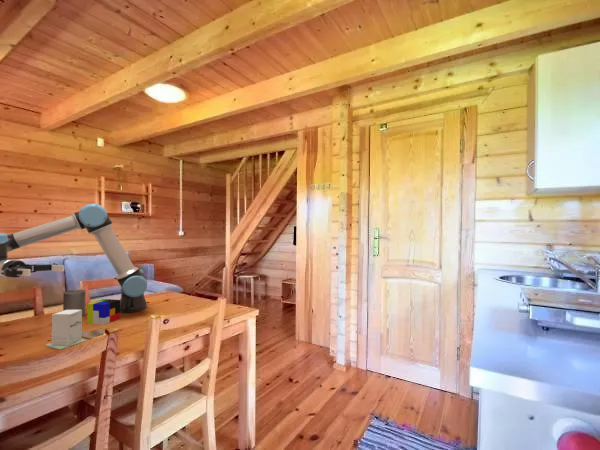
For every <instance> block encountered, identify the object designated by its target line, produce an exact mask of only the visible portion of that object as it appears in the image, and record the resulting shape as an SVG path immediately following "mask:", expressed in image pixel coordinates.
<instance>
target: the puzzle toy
mask: <svg viewBox="0 0 600 450" xmlns="http://www.w3.org/2000/svg"><path fill="white" fill-rule="evenodd" d="M86 311H87V316H86V317H87V319H86V320H87V322H86V323H87V324H90V325H106V324H109V323H112V322H114V321H117V320H120V319H121V312H120V299H113V298H112V299H111V298H110V299H109V298H104V299H100V300H95V301H92V302H89V303H87V310H86Z"/></svg>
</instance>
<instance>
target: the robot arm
mask: <svg viewBox="0 0 600 450" xmlns="http://www.w3.org/2000/svg"><path fill="white" fill-rule="evenodd" d="M113 224H114V223H113V221H112V220H111V218H110V216H109V214H108V213H107V210H106V209H105V207H103V206H102V205H100V204H97V203H88V204H86V205H84V206H82V208H80V210H79V211H75V212H73V213H72V215H70V216H67V217H63V218H59V219H57V220H53V221H49V222H47V223H44V224H40V225H36V226H34V227H30V228H27V229H24V230H21V231H18V232H14V233H11V234H7V233H0V278H5V279H8V278H14V279H15V278H20V277H31V273H36V272H42V271H43V272H46V271H52V272H65V264H58V263H55V262H52V263H51V264H27V263H25V262H24V261H22V260H16V259H15V260H14V259H8V252H12V251H14V250H17V249H20V248H23V247H26V246H29V245H32V244H35V243H39V242H40V241H45V240H47V239H50V238H54V237H57V236H61V235H63V234H66V233H70V232H72V231H76V230H83V229H86V231H87V232H88V234H89V235H92V236H94V237H95V239H96V241H97V242H98V245H99V247H100V248H101V249H102V251H103V253H104V254H105V256H106V258H107V259H108V261H109V263H110V264H111V266H112V267H113V269H114V271H115V272H116V274H117V276H116V281H117V282H118V284H119V286H120V299H119V300H120V313H134V312H140V311H143V310H146V309H147V308H148V304H147V301H146V298H145V296H144V293H146V290H147V289H148V281H147V279H146V278H145V273H144V270H143V269H139V267H136V266H135V265H134V264H133V263H132V260H131V259H130V257H129V256H128V254H127V252H126V250H125V249H124V247H123V245H122V243H121V242H120V240H119V239H118V236H117V235H116V233H115V232H114V230H113Z"/></svg>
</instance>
